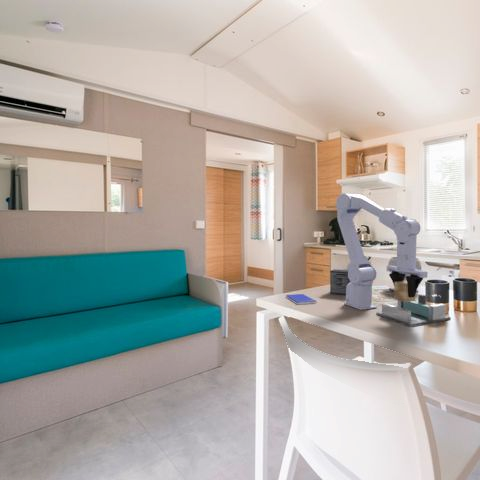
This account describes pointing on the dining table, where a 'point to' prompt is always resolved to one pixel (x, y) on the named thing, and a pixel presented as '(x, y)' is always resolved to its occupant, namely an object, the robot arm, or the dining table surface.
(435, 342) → the dining table surface
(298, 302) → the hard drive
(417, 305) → the ram
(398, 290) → the block
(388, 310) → the press
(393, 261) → the chalice
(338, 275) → the small box
